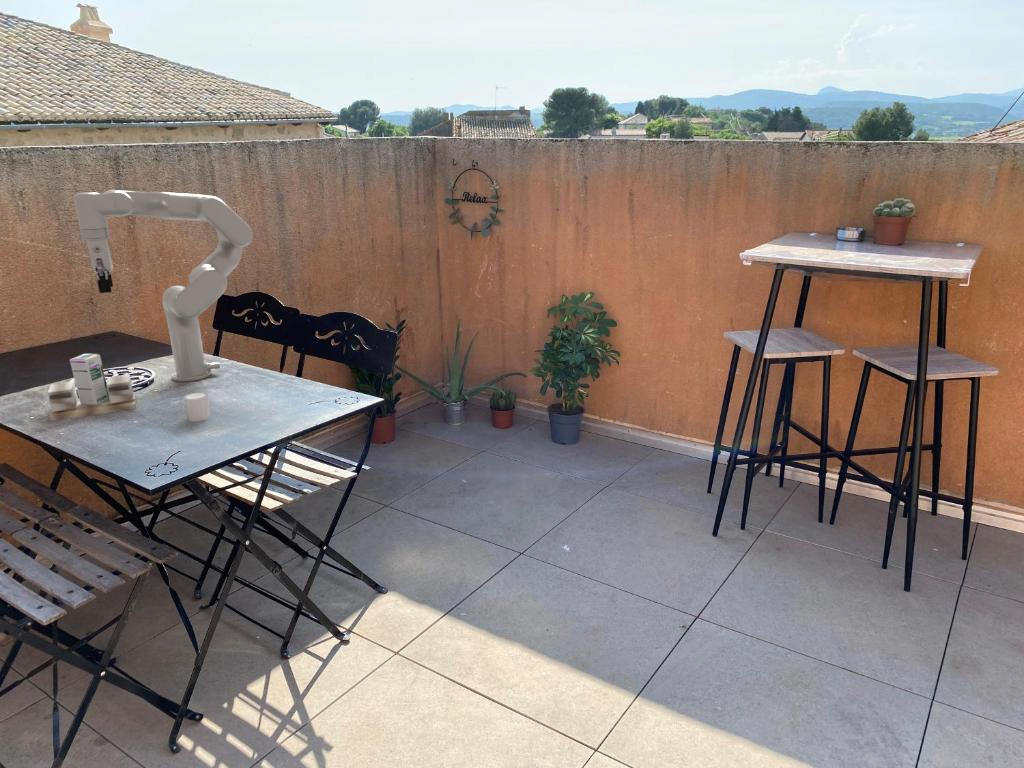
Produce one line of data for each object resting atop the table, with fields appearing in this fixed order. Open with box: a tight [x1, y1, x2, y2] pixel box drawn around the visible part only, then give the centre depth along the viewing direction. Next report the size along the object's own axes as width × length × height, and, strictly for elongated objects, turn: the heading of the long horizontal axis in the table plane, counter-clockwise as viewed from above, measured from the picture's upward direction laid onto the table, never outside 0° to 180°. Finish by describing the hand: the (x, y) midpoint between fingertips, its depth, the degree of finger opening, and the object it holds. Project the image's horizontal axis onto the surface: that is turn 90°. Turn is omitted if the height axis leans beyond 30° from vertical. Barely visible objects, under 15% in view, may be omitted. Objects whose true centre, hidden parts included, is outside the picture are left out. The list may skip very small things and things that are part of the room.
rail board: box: [47, 374, 137, 422], centre depth 207 cm, size 22×12×8 cm, turn 116°
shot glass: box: [182, 391, 211, 422], centre depth 199 cm, size 7×7×7 cm
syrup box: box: [69, 353, 109, 405], centre depth 205 cm, size 6×6×14 cm
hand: (106, 289), depth 213 cm, fingers open, 9 cm apart
